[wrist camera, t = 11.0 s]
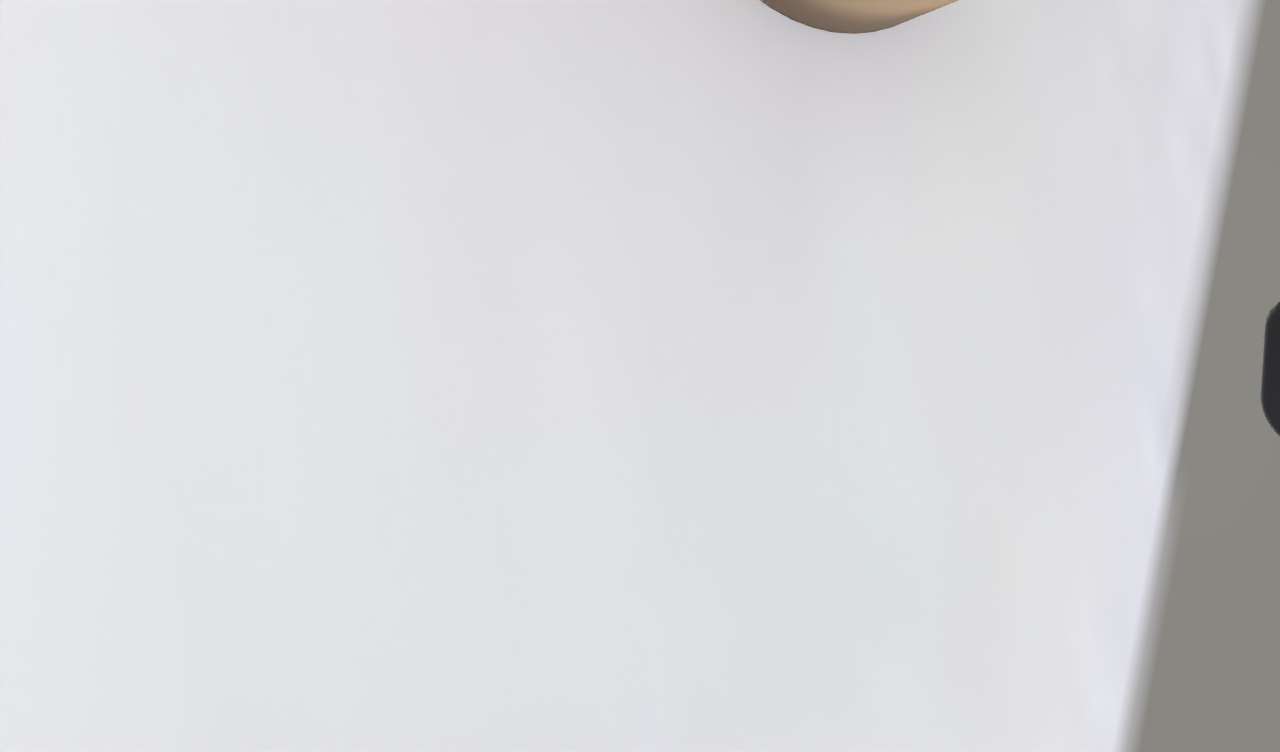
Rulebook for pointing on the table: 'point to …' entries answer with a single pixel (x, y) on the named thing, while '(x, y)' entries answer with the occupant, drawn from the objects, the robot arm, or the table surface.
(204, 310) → the table surface
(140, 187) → the table surface
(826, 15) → the stand
